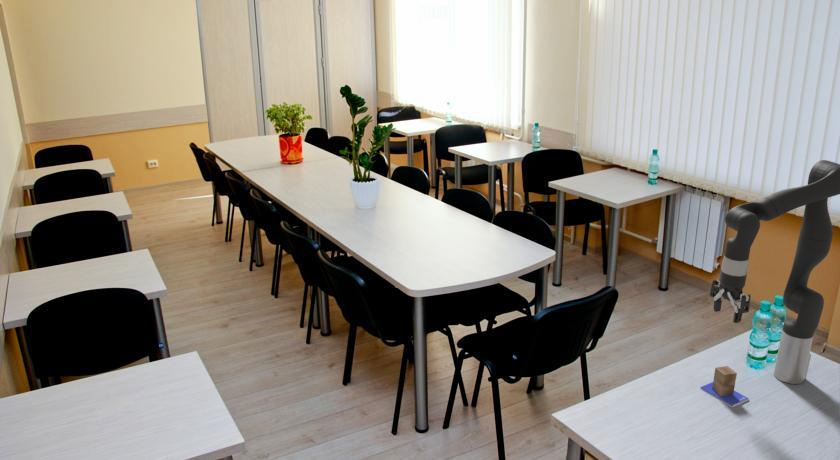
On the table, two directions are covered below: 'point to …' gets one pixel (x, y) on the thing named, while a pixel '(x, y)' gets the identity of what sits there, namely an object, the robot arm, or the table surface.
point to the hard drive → (729, 399)
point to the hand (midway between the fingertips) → (726, 316)
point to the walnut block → (724, 381)
